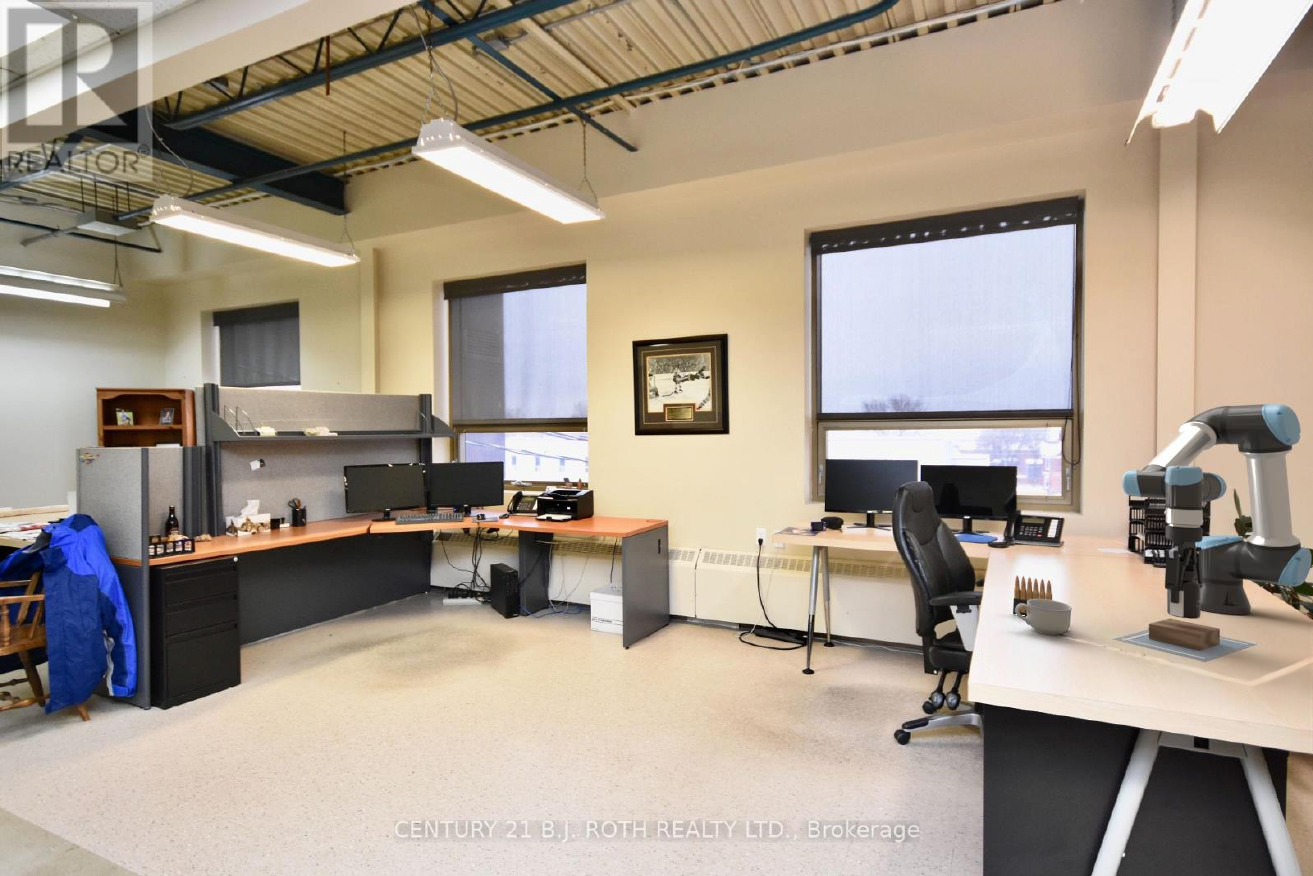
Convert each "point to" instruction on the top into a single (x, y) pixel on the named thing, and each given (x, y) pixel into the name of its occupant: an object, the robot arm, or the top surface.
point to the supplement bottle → (1189, 596)
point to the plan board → (1202, 655)
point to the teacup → (1046, 616)
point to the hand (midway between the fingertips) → (1183, 613)
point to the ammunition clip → (1029, 593)
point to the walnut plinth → (1184, 634)
